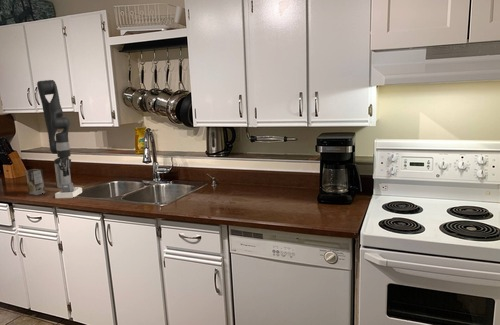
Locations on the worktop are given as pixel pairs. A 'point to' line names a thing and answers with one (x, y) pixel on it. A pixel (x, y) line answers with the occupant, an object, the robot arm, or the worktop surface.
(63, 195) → the socket plate
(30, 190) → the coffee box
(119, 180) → the worktop surface
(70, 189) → the plug
